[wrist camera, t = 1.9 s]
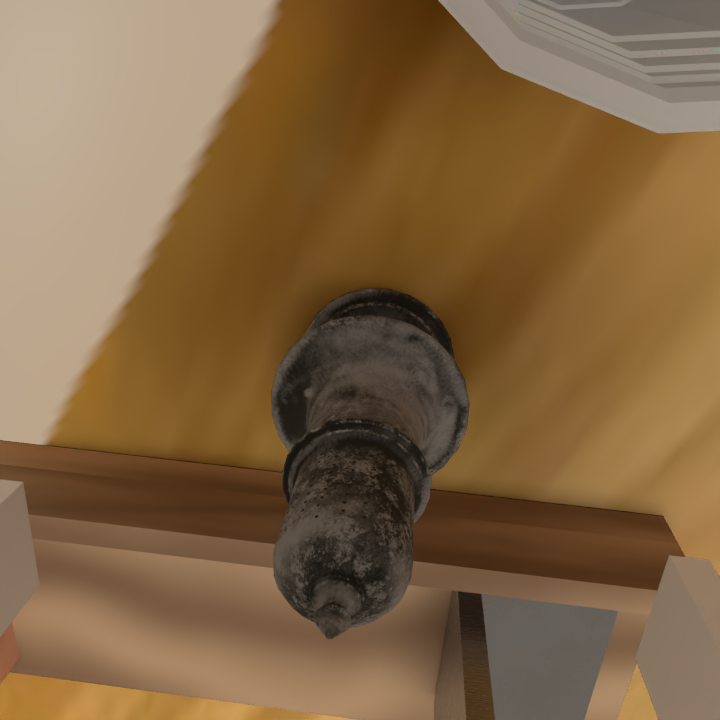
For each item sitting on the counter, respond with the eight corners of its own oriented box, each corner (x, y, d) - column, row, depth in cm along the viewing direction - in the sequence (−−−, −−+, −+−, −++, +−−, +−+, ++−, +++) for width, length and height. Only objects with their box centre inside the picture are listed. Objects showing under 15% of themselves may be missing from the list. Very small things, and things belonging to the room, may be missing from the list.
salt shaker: (495, 382, 22) (565, 682, 11) (358, 461, 24) (302, 786, 13) (398, 244, 20) (366, 434, 9) (259, 340, 22) (97, 593, 11)
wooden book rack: (-161, 421, 25) (-642, 702, 14) (663, 516, 23) (887, 928, 12) (-100, 627, 30) (-426, 967, 18) (596, 720, 28) (714, 1161, 17)
